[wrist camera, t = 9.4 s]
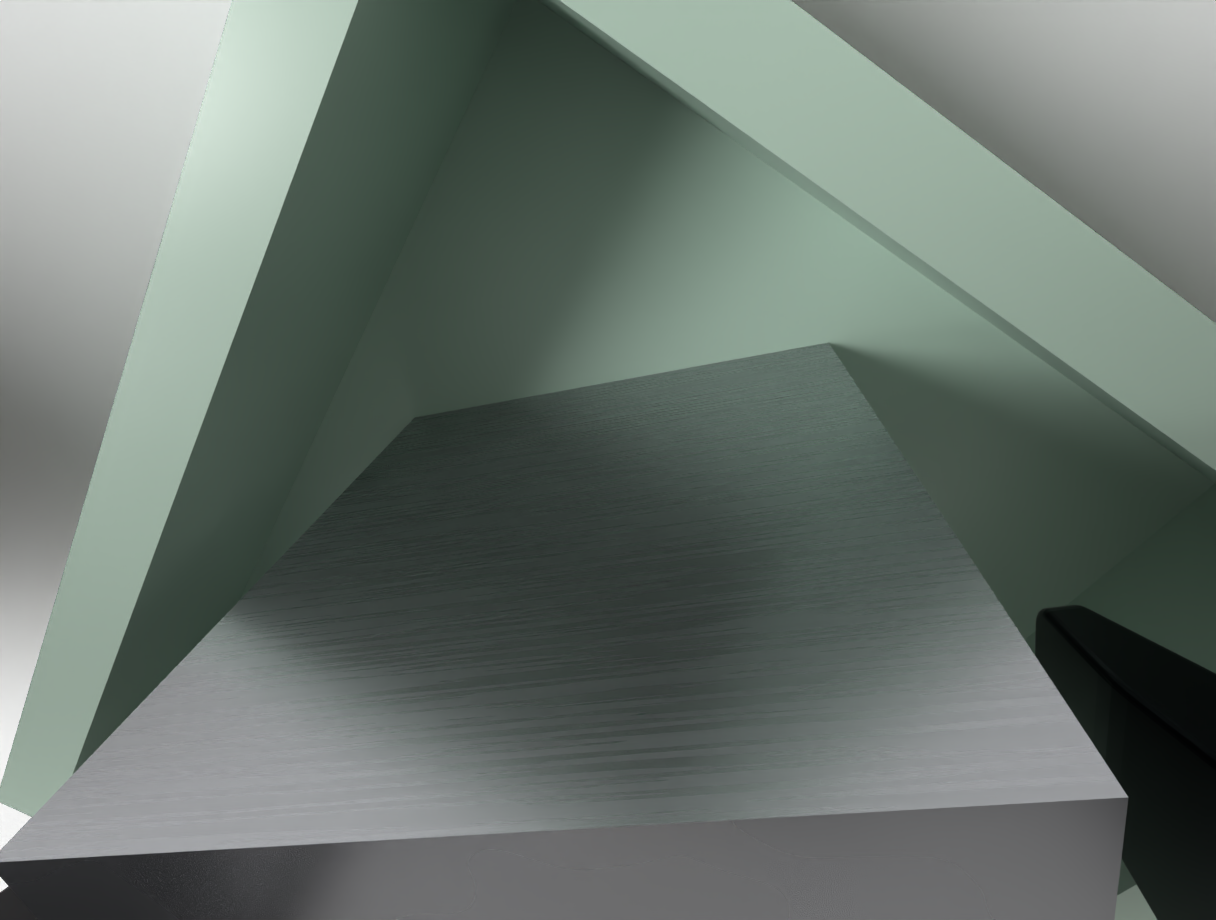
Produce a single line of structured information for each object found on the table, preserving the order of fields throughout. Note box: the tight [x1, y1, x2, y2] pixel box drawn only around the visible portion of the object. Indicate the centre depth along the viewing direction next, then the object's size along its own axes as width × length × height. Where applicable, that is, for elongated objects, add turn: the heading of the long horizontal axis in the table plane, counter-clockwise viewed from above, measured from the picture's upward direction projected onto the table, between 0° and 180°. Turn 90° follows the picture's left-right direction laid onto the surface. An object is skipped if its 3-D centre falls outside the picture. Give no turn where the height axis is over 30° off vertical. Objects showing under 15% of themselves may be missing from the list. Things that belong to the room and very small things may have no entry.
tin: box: [0, 343, 1128, 920], centre depth 8 cm, size 6×6×7 cm
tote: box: [0, 0, 1216, 920], centre depth 10 cm, size 13×13×4 cm
